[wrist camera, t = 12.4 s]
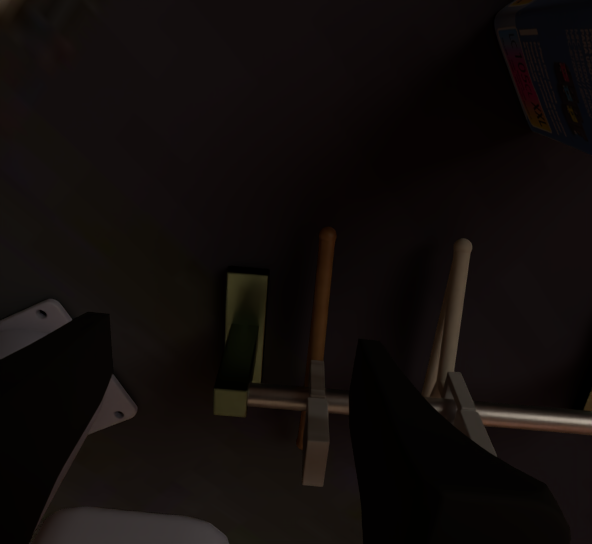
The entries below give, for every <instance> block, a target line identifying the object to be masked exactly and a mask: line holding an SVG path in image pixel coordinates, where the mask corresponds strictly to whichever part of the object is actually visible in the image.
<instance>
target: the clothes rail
mask: <svg viewBox="0 0 592 544" xmlns="http://www.w3.org/2000/svg"><path fill="white" fill-rule="evenodd" d="M269 273H270V271H269V269H262V268H250V267H238V266H229V267H228V270H227V274H226V310H225V346H224V352H223V356H222V360H221V363H220V367H219V371H218V375H217V378H216V382H215V386H214V396H213V414H214V415H221V416H233V417H246V416H247V410H248V406H249V407H261V408H273V409H285V410H297V411H306V407H307V399H308V397H309V396H310V387H301V386H289V385H277V384H265V383H262V377H263V362H264V347H265V332H266V317H267V302H268V288H269ZM424 398H425V399H426V400H427V401H428V402H429V403H430V404H431V405H432V406H433V407H434V408H435V409H436V410H437V411H438V412H439V413H440V414H441V415H442V416H443V417H444V418H446V419H447V420H448V421H449V422H450V423H452V424H453V423H454V419H455V416H456V412H457V406H456V404H455V401H454V399H443V398H432V397H424ZM325 399H327V400H328V413H333V414H345V415H349V391H348V390H336V389H325ZM473 402H474V405H475V407H476V411H475V412H478V413H479V415H480V418H481V420H482V422H483V424H484V426H488V427H500V428H512V429H524V430H536V431H548V432H560V433H572V434H584V435H592V363H591V365H590V368H589V370H588V373H587V375H586V378H585V380H584V383H583V386H582V388H581V391H580V393H579V396H578V398H577V401H576V403H575V406H574V408H573V409H563V408H551V407H539V406H527V405H515V404H503V403H491V402H479V401H473Z"/></svg>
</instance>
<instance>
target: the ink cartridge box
mask: <svg viewBox="0 0 592 544" xmlns="http://www.w3.org/2000/svg"><path fill="white" fill-rule="evenodd" d="M494 27H495V32H496V36H497V39H498V42H499V45H500V48H501V51H502V54H503V57H504V60H505V62H506V65H507V68H508V70H509V73H510V76H511V79H512V82H513V85H514V87H515V90H516V93H517V96H518V98H519V101H520V104H521V106H522V109H523V112H524V115H525V117H526V120H527V122H528V125H529V127H530V129H531V130H532V131H533V132H535V133H538V134H541V135H543V136H546V137H549V138H551V139H553V140H556V141H558V142H561V143H563V144H566V145H568V146H570V147H573V148H575V149H578V150H580V151H583V152H585V153H587V154H590V155H592V0H514V1H513V2H511V3H509V4H508V5H506V6H505V7H504V8H502V9H501V10H500V11H499V12H498V13H497V15H496V16H495V20H494Z"/></svg>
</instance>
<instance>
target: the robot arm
mask: <svg viewBox="0 0 592 544" xmlns="http://www.w3.org/2000/svg"><path fill="white" fill-rule="evenodd" d="M40 310H43V311H44V312H46V314H47V315H44V314H42V313H41V312H40ZM117 411H120V412H122V413H123V414H120V413H118V412H117ZM136 412H137V406H136V404H135V403H134V401H133V400H132V399H131V397H130V396H129V395H128V393H127V392H126V391H125V389H124V388H123V387H122V385H121V384H120V383H119V381H118V380H117V379H116V377H115V376H114V375H113V361H112V346H111V331H110V317H109V314H105V313H95V312H87V313H85V314H83V315H81V316H79V317H77V318H75V319H74V320H72V318H71V317H70V316H69V314H68V313H67V312H66V310H65V309H64V308H63V306H62V305H61V304H60V303H59V302H58V301H56V300H54V299H47V300H44V301H42V302H40V303H38V304H35V305H33V306H31V307H29V308H27V309H24V310H22V311H20V312H18V313H16V314H13V315H11V316H9V317H7V318H5V319H2V320H0V544H229V542H228V539H227V536H226V535H224V534H223V533H222V532H221V531H220V530H218V529H217V528H216V527H215V526H213V525H212V524H211V523H210V522H208V521H204V520H201V519H197V518H194V517H190V516H184V515H173V514H163V513H152V512H142V511H131V510H121V509H110V508H100V507H89V506H83V507H72V508H63V509H60V510H58V511H57V512H55V513H54V514H52V515H51V516H49V517H48V518H46V519H45V521H44V523H43V524H42V526H41V528H40V530H39V532H38V534H37V536H36V537H35V539H34V541H33V543H31V542H30V540H31V538H32V535H33V533H34V532H35V530H36V528H37V526H38V524H39V523H40V521H41V519H42V517H43V515H44V513H45V512H46V510H47V508H48V506H49V504H50V502H51V501H52V499H53V497H54V495H55V493H56V491H57V490H58V488H59V486H60V484H61V482H62V480H63V479H64V477H65V475H66V473H67V471H68V470H69V468H70V466H71V464H72V462H73V460H74V459H75V457H76V455H77V453H78V451H79V449H80V448H81V446H82V444H83V442H84V440H85V438H86V437H87V435H88V434H91V433H93V432H96V431H99V430H101V429H104V428H107V427H109V426H112V425H115V424H117V423H120V422H123V421H125V420H128V419H130V418H133V417H134V416H135V415H136ZM349 427H350V434H351V440H352V447H353V453H354V460H355V466H356V472H357V479H358V485H359V491H360V499H361V509H362V528H363V544H570V541H571V535H570V527H569V525H568V523H567V521H566V520H565V518H564V516H563V513H562V511H561V509H560V507H559V505H558V503H557V501H556V500H555V498H554V496H553V495H552V493H551V491H550V490H549V488H548V487H547V485H546V484H545V483H543V482H541V481H539V480H537V479H535V478H533V477H531V476H529V475H527V474H526V473H524V472H522V471H520V470H518V469H516V468H514V467H512V466H511V465H509V464H507V463H506V462H504V461H502V460H501V459H499V458H498V457H496V456H494V455H493V454H491V453H490V452H488V451H487V450H485V449H484V448H482V447H481V446H479V445H478V444H477V443H475V442H474V441H473V440H471V439H470V438H469V437H467V436H466V435H465V434H463V433H462V432H461V431H460V430H458V429H457V428H456V427H455V426H453V425H452V424H451V423H450V422H449V421H448V420H447V419H446V418H444V417H443V416H442V415H441V414H440V413H439V412H438V411H437V410H436V409H435V408H434V407H433V406H432V405H431V404H430V403H429V402H428V401H427V400H426V399H425V398H424V397H423V396H422V395H421V394H420V393H419V392H418V390H417V389H416V388H415V387H414V386H413V384H412V383H411V382H410V381H409V380H408V378H407V377H406V376H405V375H404V373H403V372H402V371H401V369H400V368H399V367H398V365H397V364H396V363H395V361H394V360H393V359H392V357H391V356H390V354H389V353H388V352H387V350H386V349H385V347H384V346H383V345H382V343H381V342H380V341H375V340H365V339H359V340H358V345H357V351H356V357H355V362H354V368H353V374H352V379H351V385H350V391H349Z"/></svg>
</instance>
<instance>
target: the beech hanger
mask: <svg viewBox="0 0 592 544" xmlns="http://www.w3.org/2000/svg"><path fill="white" fill-rule="evenodd" d="M336 238H337V234H336V231H335V230H334V229H333V228H332V227H324V228H322V229H321V230H320V232H319V248H318V258H317V269H316V280H315V290H314V301H313V310H312V319H311V329H310V338H309V347H308V356H307V365H306V374H305V383H304V387H310V396H309V397H308V399H307V407H306V411H301V417H300V424H299V431H298V438H297V440H296V445H297V447H298V448H299V449H301V450H303V451H302V485H309V486H321V487H322V486H323V483H324V476H325V470H326V463H327V456H328V449H329V421H328V400H327V399H325V374H324V361H323V358H324V348H325V338H326V328H327V318H328V308H329V297H330V287H331V277H332V267H333V257H334V247H335V240H336Z"/></svg>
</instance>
